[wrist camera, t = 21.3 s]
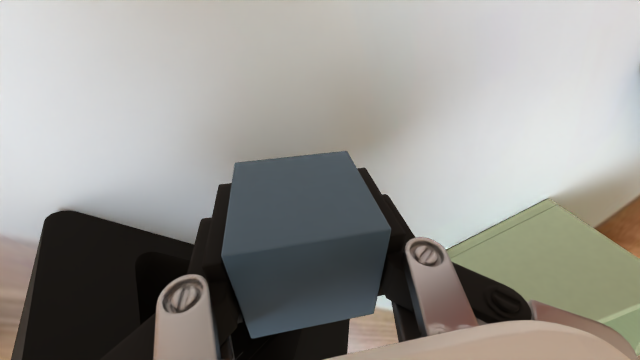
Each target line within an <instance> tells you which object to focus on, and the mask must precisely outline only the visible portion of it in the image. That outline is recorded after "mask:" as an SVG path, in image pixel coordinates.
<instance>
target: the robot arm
mask: <svg viewBox="0 0 640 360" xmlns="http://www.w3.org/2000/svg"><path fill="white" fill-rule="evenodd" d="M357 169H358V171H359V173H360V175H361V177H362V178H363V180H364V182H365V184H366V185H367V187H368V189H369V191H370V192H371V194H372V196H373V198H374V199H375V201H376V203H377V205H378V206H379V208H380V210H381V212H382V214H383V215H384V217H385V219H386V221H387V222H388V224H389V226H390V228H391V234H390V239H389V243H388V248H387V253H386V258H385V262H384V267H383V272H382V277H381V282H380V286H379V291H378V296H380V295H385V296H386V298H387V299H389V300H391V301H392V307H393V313H394V318H395V324H396V329H397V335H398V340H399V343H395V344H391V345H386V346H382V347H377V348H373V349H368V350H364V351H359V352H355V353H350V354H346V355H341V356H337V357H332V358H328V359H324V360H638V357H637V355H636V353H635V351H634V349H633V348H632V346H631V345H630V343H629V342H628V341H627V340H626V339H625V338H624V337H623V336H622V335H621V334H619V333H618V332H617V331H615V330H614V329H612V328H611V327H609V326H607V325H605V324H602V323H600V322H597V321H595V320H592V319H589V318H586V317H583V316H580V315H577V314H574V313H571V312H568V311H565V310H562V309H559V308H556V307H553V306H550V305H547V304H544V303H541V302H539V301H536V300H533V299H531V300H530V301H529V302H528V301H526V300H525V299H524V298H523V297H522V296H521V295H520V294H519V293H518V292H516V291H515V290H514V289H512V288H510V287H508V286H506V285H504V284H502V283H500V282H497V281H495V280H493V279H490V278H488V277H486V276H483V275H481V274H479V273H477V272H474V271H472V270H470V269H467V268H465V267H463V266H461V265H458V264H456V263H454V262H451V259H450V257H449V255H448V253H447V251H446V250H445V248H444V247H443V246H442V245H441V244H439V243H438V242H436V241H434V240H432V239H429V238H424V237H417V238H415V236H414V235H413V233H412V232H411V230H410V229H409V227H408V225H407V224H406V222H405V221H404V219H403V218H402V216H401V215H400V213H399V211H398V210H397V208H396V207H395V205H394V204H393V202H392V201H391V199H390V198H389V196H388V195H386V194H383V195H382V194H381V192H380V191H379V189H378V187H377V186H376V184H375V183H374V181H373V179H372V178H371V176H370V174H369V173H368V171H367V170H366V168H357ZM231 185H232V183H230V184H221V185H219V187H218V191H217V196H216V201H215V205H214V210H213V215H212V218H204V219H202V220H201V222H200V226H199V229H198V233H197V237H196V241H195V245H194V249H193V252H192V256H191V260H190V264H189V268H188V272H187V275H185V276H182V277H179V278H177V279H175V280H174V281H172V282H171V283H170V284H168V285H167V286H166V287H165V288H164V290H163V291H162V292H161V294H160V296H159V297H158V301H157V305H156V313H155V314H153V315H152V316H151V317H150V318H149V319H147V320H146V321H145V322H144V323H143V324H142V325H140V326H139V327H138V328H137V329H136V330H134V331H133V332H132V333H131V334H130V335H128V336H127V337H126V338H125V339H124V340H122V341H121V342H120V343H119V344H118V345H117V346H115V347H114V348H113V349H112V350H111V351H109V352H108V353H107V354H106V355H105V356H103V357H102V358H101V359H100V360H235V358H234V352H233V346H232V340H231V334H232V333H233V331H234V330H235V329H236V328H237V323H241V322H243V314H242V312H241V309H240V306H239V303H238V301H237V298H236V295H235V292H234V290H233V287H232V284H231V281H230V279H229V276H228V273H227V270H226V268H225V265H224V262H223V259H222V257H221V253H222V247H223V240H224V233H225V226H226V219H227V213H228V206H229V199H230V192H231Z"/></svg>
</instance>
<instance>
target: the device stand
mask: <svg viewBox="0 0 640 360" xmlns="http://www.w3.org/2000/svg"><path fill="white" fill-rule="evenodd" d="M193 249H194V245H193V244H189V243H186V242H182V241H179V240H175V239H171V238H168V237H164V236H161V235H157V234H154V233H150V232H146V231H143V230H139V229H136V228H132V227H129V226H125V225H121V224H118V223H114V222H111V221H107V220H104V219H100V218H96V217H93V216H89V215H86V214H82V213H79V212H75V211H59V212H56V213H53V214H51V215H49V216H48V217H47V218H46V219H45V221H44V225H43V229H42V233H41V237H40V241H39V246H38V250H37V254H36V258H35V262H34V266H33V270H32V274H31V279H30V283H29V287H28V291H27V295H26V299H25V303H24V308H23V312H22V316H21V320H20V324H19V328H18V332H17V337H16V341H15V345H14V349H13V353H12V357H11V360H100V359H101V358H102V357H103V356H105V355H106V354H107V353H108V352H109V351H111V350H112V349H113V348H114V347H115V346H117V345H118V344H119V343H120V342H121V341H122V340H124V339H125V338H126V337H127V336H128V335H130V334H131V333H132V332H133V331H134V330H136V329H137V328H138V327H139V326H140V325H142V324H143V323H144V322H145V321H146V320H147V319H149V318H150V317H151V316H152V315H153V314H155V313H156V305H157V301H158V297H159V296H160V294H161V292H162V291H163V290H164V288H165V287H166V286H167V285H168V284H170V283H171V282H172V281H174V280H175V279H177V278H179V277H182V276H185V275H187V272H188V268H189V264H190V260H191V256H192V252H193ZM349 320H350V319H345V320H340V321H336V322H331V323H326V324H321V325H316V326H311V327H306V328H301V329H296V330H291V331H287V332H282V333H277V334H272V335H267V336H262V337H257V338H251V336H250V334H249V331H248V328H247V325H246V323H245V320H244V317H243V322H241V323H237V328H236V329H235V330H234V331H233V333H232V334H231V340H232V346H233V352H234V358H235V360H324V359H328V358H332V357H337V356H341V355H346V354H347V347H348V333H349Z"/></svg>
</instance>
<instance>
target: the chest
mask: <svg viewBox="0 0 640 360" xmlns="http://www.w3.org/2000/svg"><path fill="white" fill-rule="evenodd" d="M446 251H447V253H448V255H449V257H450V259H451V262H454V263H456V264H458V265H461V266H463V267H465V268H467V269H470V270H472V271H474V272H477V273H479V274H481V275H483V276H486V277H488V278H490V279H493V280H495V281H497V282H500V283H502V284H504V285H506V286H508V287H510V288H512V289H514V290H515V291H516V292H518V293H519V294H520V295H521V296H522V297H523V298H524V299H525V300H526V301H528V302H529V301H530V300H531V299H533V300H536V301H539V302H541V303H544V304H547V305H550V306H553V307H556V308H559V309H562V310H565V311H568V312H571V313H574V314H577V315H580V316H583V317H586V318H589V319H592V320H595V321H597V322H600V323H602V324H605V325H607V326H609V327H611V328H612V329H614V330H615V331H617V332H618V333H619V334H621V335H622V336H623V337H624V338H625V339H626V340H627V341H628V342H629V343H630V345H631V346H632V348H633V349H634V351H635V353H636V355H637V356H638V355H640V259H639V258H637V257H636V256H634V255H633V254H631V253H630V252H628V251H627V250H625V249H624V248H622V247H621V246H619V245H618V244H616V243H615V242H613V241H612V240H610V239H609V238H607V237H606V236H604V235H603V234H601V233H600V232H598V231H597V230H595V229H594V228H592V227H591V226H590V225H588V224H587V223H585V222H584V221H582V220H581V219H579V218H578V217H576V216H575V215H573V214H572V213H570V212H569V211H567V210H566V209H564V208H563V207H561V206H560V205H558V204H557V203H555V202H554V201H552V200H551V199H546V200H544V201H542V202H540V203H539V204H537V205H535V206H533V207H531V208H529V209H527V210H525V211H523V212H521V213H519V214H517V215H515V216H513V217H511V218H509V219H507V220H505V221H503V222H501V223H499V224H497V225H495V226H493V227H491V228H489V229H488V230H486V231H484V232H482V233H480V234H478V235H476V236H474V237H472V238H470V239H468V240H466V241H464V242H462V243H460V244H458V245H456V246H454V247H452V248H450V249H448V250H446Z"/></svg>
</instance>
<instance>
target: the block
mask: <svg viewBox="0 0 640 360" xmlns="http://www.w3.org/2000/svg"><path fill="white" fill-rule="evenodd" d="M390 234H391V228H390V226H389V224H388V222H387V221H386V219H385V217H384V215H383V214H382V212H381V210H380V208H379V206H378V205H377V203H376V201H375V199H374V198H373V196H372V194H371V192H370V191H369V189H368V187H367V185H366V184H365V182H364V180H363V178H362V177H361V175H360V173H359V171H358V169H357V168H356V166H355V164H354V162H353V161H352V159H351V157H350V155H349V154H348V152H347V151H341V152H332V153H323V154H313V155H304V156H294V157H285V158H276V159H266V160H257V161H247V162H238V163H235V165H234V172H233V179H232V185H231V192H230V199H229V206H228V213H227V219H226V226H225V233H224V240H223V247H222V253H221V257H222V259H223V262H224V265H225V268H226V270H227V273H228V276H229V279H230V281H231V284H232V287H233V290H234V292H235V295H236V298H237V301H238V303H239V306H240V309H241V312H242V314H243V317H244V320H245V323H246V325H247V328H248V331H249V334H250V336H251V338H257V337H262V336H267V335H272V334H277V333H282V332H287V331H291V330H296V329H301V328H306V327H311V326H316V325H321V324H326V323H331V322H336V321H340V320H345V319H350V318H355V317H360V316H365V315H370V314H373V313H374V310H375V305H376V301H377V296H378V291H379V286H380V282H381V277H382V272H383V267H384V262H385V258H386V253H387V248H388V243H389V239H390Z"/></svg>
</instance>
